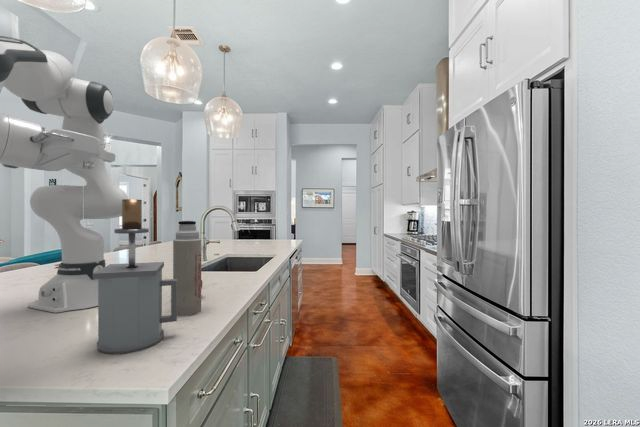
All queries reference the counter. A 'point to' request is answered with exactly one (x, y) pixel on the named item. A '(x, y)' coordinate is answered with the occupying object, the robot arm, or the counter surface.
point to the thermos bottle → (187, 268)
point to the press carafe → (132, 306)
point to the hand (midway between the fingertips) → (102, 162)
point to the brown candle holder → (131, 224)
